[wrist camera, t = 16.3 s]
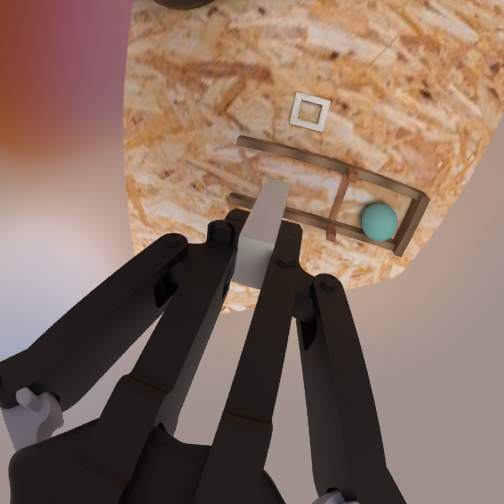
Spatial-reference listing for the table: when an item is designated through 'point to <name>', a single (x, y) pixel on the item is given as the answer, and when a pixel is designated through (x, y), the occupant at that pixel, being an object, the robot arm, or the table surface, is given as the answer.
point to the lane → (341, 197)
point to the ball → (379, 222)
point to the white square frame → (307, 123)
